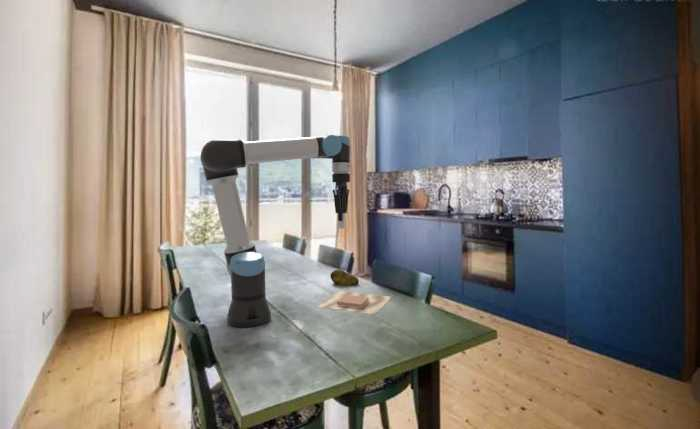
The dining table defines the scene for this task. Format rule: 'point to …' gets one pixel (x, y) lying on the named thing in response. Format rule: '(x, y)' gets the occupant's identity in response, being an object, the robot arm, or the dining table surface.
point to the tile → (353, 301)
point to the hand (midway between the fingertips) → (341, 228)
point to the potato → (343, 278)
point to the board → (370, 308)
